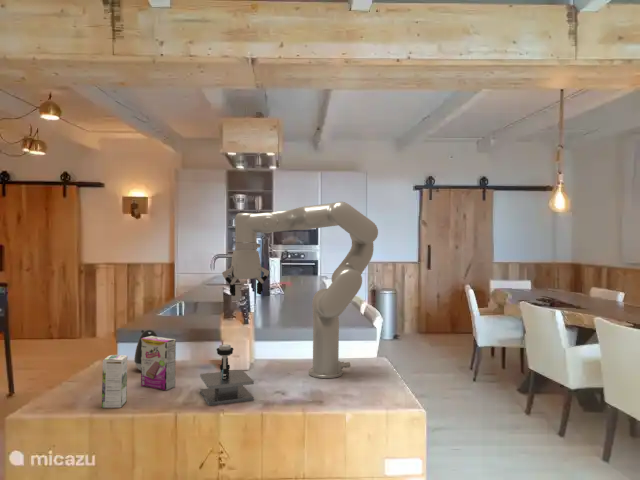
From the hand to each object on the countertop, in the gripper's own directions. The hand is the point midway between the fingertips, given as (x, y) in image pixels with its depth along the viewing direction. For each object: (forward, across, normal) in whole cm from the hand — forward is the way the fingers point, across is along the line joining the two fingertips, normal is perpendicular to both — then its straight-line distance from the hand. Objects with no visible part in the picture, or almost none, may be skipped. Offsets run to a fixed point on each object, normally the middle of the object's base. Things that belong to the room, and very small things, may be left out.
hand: (246, 294), depth 187 cm
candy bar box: (+30, +31, 0) cm, 43 cm away
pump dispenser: (+30, +31, -23) cm, 49 cm away
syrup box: (+30, +45, +13) cm, 56 cm away
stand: (+30, +12, +18) cm, 37 cm away
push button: (+24, +13, +18) cm, 33 cm away
